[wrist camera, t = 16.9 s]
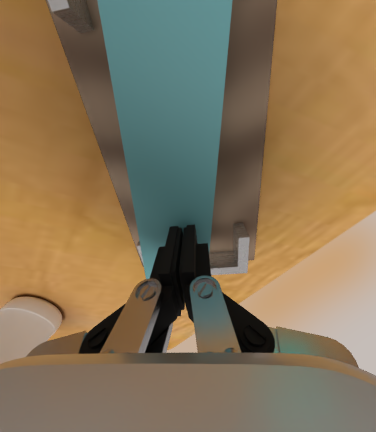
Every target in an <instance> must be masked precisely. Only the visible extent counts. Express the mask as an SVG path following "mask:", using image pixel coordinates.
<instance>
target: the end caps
mask: <svg viewBox="0 0 376 432" xmlns="http://www.w3.org/2000/svg"><path fill="white" fill-rule="evenodd" d="M48 2H49V5H50V8H51V11H52V12H53V13H54V14H55V15H57V16H58V17H59V18H61V19H62V20H63V21H65V22H66V23H67V24H69V25H70V26H71V27H73V28H74V29H75V30H76V31H78V32H79V33H84V32H89V31H94V27H93V24H92V20H91V17H90V13H89V10H88V6H87V3H86V0H48ZM249 238H250V237H249V235H248V233H247V231H246V228H245V226H244V224H243V223H237V224H233V251H223V252H209V259H210V269H211V275H220V274H238V273H247V269H248V254H249ZM137 249H138V251H139V254H140V257H141V260H142V263H143V258H142V252H141V247H140V241H139V242H138V244H137ZM143 265H144V264H143Z"/></svg>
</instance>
